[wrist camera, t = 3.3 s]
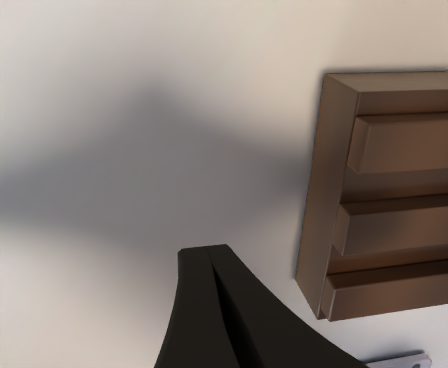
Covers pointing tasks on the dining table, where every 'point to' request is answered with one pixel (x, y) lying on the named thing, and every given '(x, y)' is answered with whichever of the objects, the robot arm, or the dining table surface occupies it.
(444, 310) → the dining table surface
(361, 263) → the trivet
